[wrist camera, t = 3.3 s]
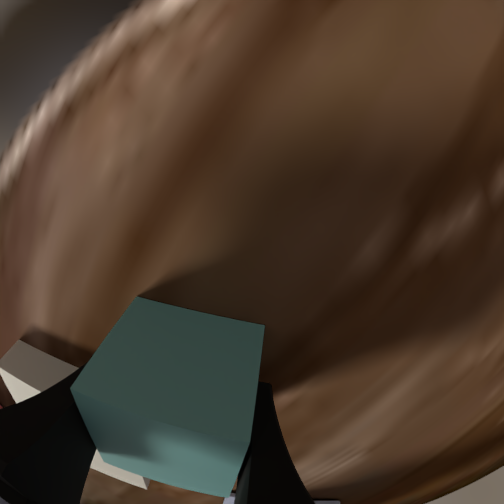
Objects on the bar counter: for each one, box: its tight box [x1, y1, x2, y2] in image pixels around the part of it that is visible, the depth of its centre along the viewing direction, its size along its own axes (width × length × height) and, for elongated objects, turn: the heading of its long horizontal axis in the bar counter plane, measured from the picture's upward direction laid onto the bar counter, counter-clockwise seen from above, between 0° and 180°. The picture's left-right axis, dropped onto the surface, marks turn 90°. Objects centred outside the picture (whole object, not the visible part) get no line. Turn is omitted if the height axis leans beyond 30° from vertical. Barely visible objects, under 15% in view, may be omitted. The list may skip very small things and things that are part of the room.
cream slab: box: [0, 340, 150, 489], centre depth 15 cm, size 9×9×3 cm
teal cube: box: [70, 297, 265, 498], centre depth 10 cm, size 5×5×5 cm
